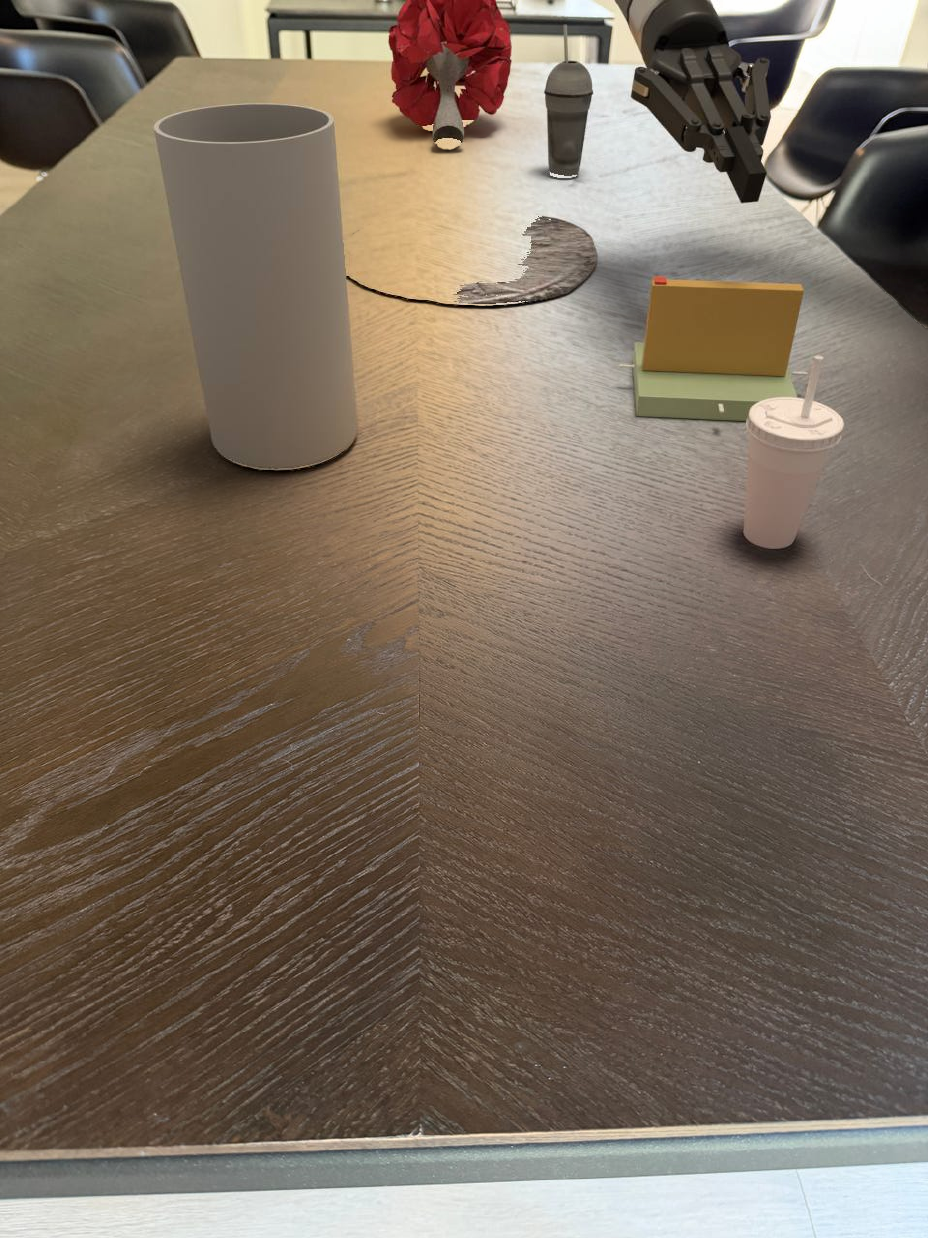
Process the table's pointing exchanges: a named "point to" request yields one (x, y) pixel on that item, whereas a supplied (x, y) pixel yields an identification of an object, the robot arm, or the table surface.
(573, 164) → the beverage cup
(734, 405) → the flat green base panel
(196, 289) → the cylinder vase
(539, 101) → the table surface
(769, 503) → the smoothie
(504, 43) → the bouquet
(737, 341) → the red-tabbed upright panel
